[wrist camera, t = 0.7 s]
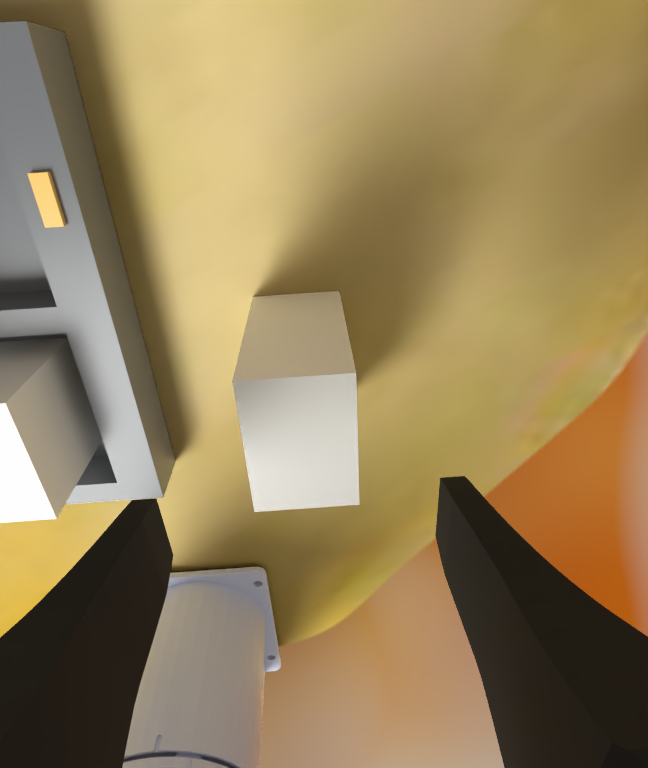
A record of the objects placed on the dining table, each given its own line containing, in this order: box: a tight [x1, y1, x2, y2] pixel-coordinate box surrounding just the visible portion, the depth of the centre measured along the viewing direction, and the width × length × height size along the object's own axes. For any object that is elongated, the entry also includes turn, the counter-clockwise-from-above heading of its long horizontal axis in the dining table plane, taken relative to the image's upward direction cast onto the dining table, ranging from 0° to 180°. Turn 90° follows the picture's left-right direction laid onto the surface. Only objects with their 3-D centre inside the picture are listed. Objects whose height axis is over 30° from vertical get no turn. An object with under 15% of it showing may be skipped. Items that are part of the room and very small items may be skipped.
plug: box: [232, 291, 359, 512], centre depth 18 cm, size 5×4×7 cm
